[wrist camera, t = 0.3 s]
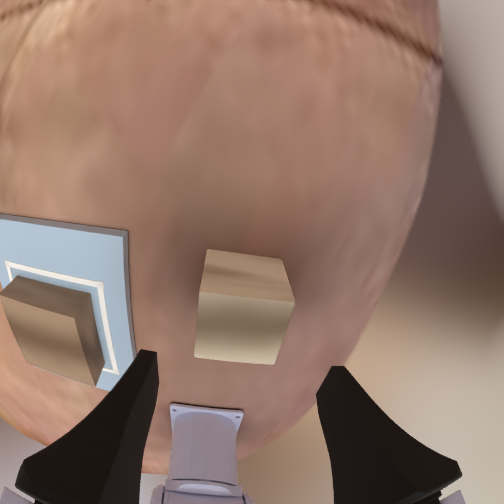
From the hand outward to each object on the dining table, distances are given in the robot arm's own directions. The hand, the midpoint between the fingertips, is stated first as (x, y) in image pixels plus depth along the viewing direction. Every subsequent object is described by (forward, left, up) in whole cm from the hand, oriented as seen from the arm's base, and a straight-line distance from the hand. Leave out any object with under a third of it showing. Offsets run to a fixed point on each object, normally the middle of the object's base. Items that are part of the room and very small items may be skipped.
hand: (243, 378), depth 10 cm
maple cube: (-1, 0, -10) cm, 10 cm away
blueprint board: (-7, +15, -9) cm, 19 cm away
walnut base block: (-7, +15, -8) cm, 19 cm away
